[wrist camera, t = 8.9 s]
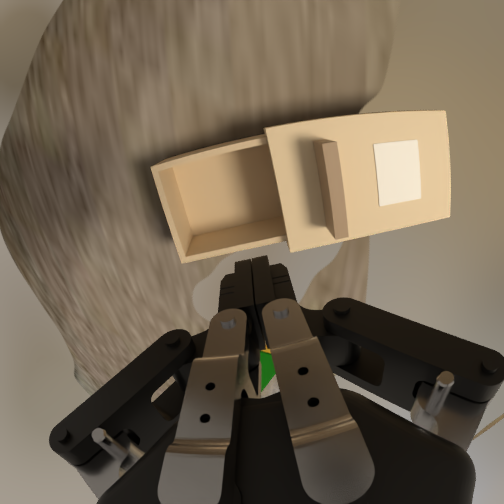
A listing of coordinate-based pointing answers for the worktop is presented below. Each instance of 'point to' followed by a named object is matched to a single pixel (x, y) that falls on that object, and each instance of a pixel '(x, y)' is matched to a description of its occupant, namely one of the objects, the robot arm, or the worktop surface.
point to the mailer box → (221, 198)
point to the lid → (360, 174)
